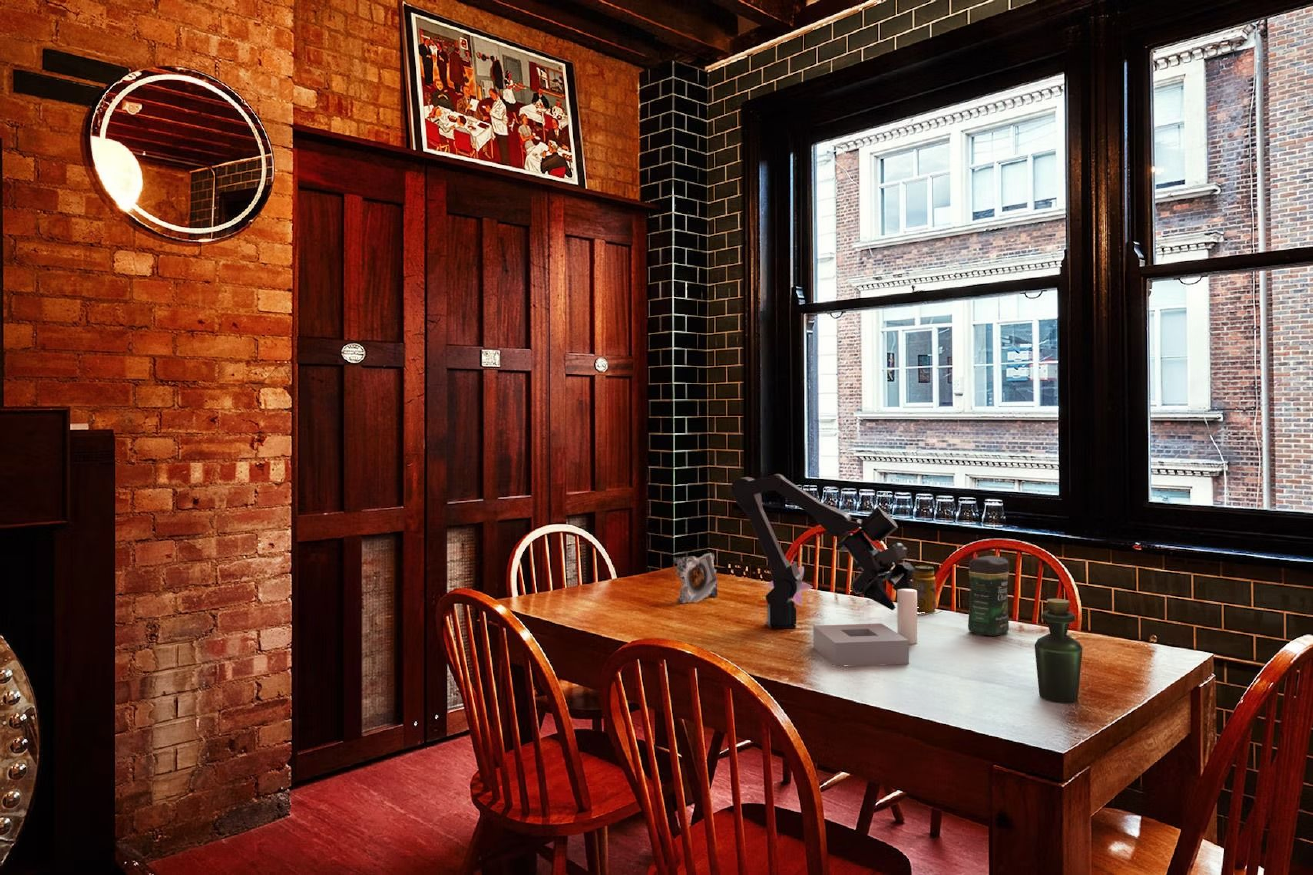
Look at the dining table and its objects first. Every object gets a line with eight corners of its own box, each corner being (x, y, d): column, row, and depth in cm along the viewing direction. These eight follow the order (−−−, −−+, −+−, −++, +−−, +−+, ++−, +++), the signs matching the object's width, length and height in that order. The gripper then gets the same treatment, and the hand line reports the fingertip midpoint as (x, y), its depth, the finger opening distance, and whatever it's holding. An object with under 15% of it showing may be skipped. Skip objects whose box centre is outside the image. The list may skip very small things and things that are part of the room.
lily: (761, 604, 255) (761, 578, 250) (785, 583, 262) (785, 558, 257) (795, 622, 247) (796, 596, 243) (819, 600, 255) (820, 574, 250)
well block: (835, 666, 184) (835, 642, 184) (813, 647, 200) (813, 625, 200) (908, 663, 186) (908, 640, 186) (881, 645, 202) (881, 623, 202)
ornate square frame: (706, 595, 263) (706, 551, 263) (717, 597, 260) (717, 553, 260) (673, 603, 252) (673, 557, 252) (684, 605, 249) (684, 558, 249)
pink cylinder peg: (901, 644, 202) (901, 592, 202) (894, 639, 207) (894, 589, 207) (920, 643, 203) (920, 591, 203) (912, 639, 207) (912, 588, 207)
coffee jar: (993, 638, 207) (993, 560, 207) (963, 632, 213) (962, 556, 213) (1014, 632, 213) (1014, 555, 213) (984, 626, 219) (984, 552, 219)
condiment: (942, 611, 238) (942, 567, 238) (921, 615, 233) (921, 570, 233) (920, 607, 244) (920, 563, 244) (900, 610, 239) (900, 566, 239)
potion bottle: (1031, 689, 167) (1031, 595, 167) (1078, 693, 165) (1078, 597, 165) (1037, 702, 160) (1037, 603, 159) (1086, 706, 157) (1086, 606, 157)
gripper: (861, 536, 203) (903, 590, 195) (906, 529, 215) (948, 579, 207) (834, 566, 209) (874, 620, 201) (879, 558, 221) (919, 608, 213)
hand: (905, 606), depth 205 cm, fingers open, 9 cm apart
